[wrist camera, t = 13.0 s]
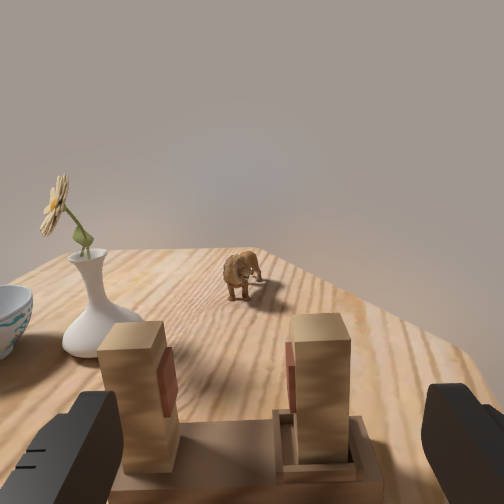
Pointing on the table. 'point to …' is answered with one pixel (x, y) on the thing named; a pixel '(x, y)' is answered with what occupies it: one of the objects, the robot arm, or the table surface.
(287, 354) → the tall wooden pillar
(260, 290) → the table surface
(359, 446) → the wooden block stand
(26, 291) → the chinaware
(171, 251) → the table surface
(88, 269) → the flower in vase
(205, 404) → the table surface
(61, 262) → the table surface
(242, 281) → the lion figurine
